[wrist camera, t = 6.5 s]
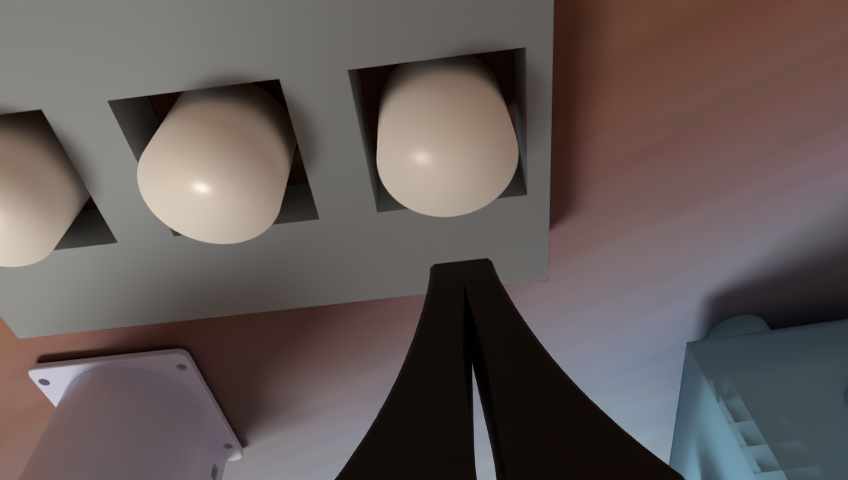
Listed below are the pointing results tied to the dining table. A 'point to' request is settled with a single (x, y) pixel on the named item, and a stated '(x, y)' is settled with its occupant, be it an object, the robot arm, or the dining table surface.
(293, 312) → the dining table surface
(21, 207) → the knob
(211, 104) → the middle knob
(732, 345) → the teakettle
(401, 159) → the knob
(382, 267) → the console
